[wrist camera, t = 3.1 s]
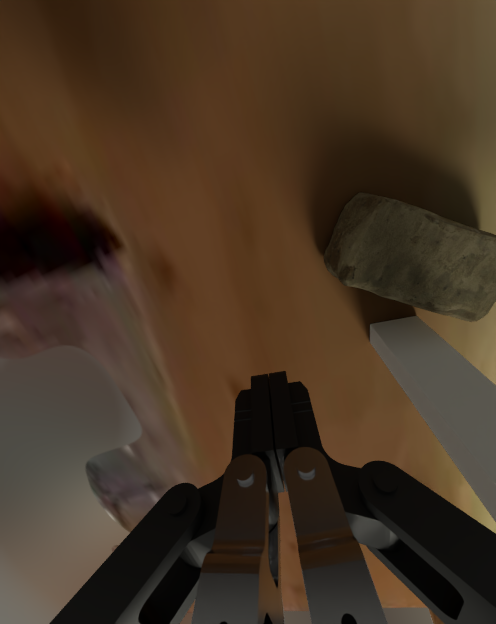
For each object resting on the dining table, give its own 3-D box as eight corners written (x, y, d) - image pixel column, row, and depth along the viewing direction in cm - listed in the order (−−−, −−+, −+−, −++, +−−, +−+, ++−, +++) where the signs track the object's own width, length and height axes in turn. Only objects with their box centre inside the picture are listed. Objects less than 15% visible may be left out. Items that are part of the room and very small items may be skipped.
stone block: (440, 298, 23) (484, 329, 19) (314, 262, 22) (331, 287, 17) (485, 231, 21) (549, 249, 16) (346, 186, 19) (375, 192, 15)
